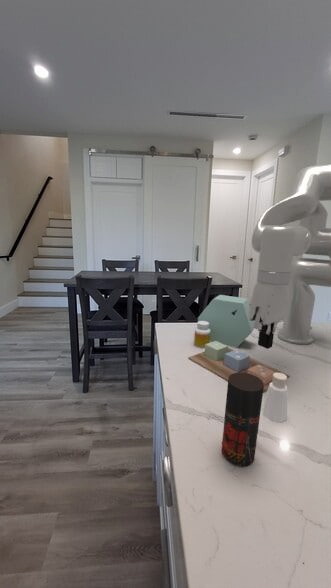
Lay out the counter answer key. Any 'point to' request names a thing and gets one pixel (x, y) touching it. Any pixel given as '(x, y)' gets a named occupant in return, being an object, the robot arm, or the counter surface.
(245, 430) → the deodorant
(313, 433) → the counter surface
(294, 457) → the counter surface
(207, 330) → the supplement bottle
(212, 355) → the tile one
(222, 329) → the mint hexagonal clock
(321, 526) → the counter surface
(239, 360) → the tile two
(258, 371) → the tile three
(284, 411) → the pepper shaker
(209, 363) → the board
